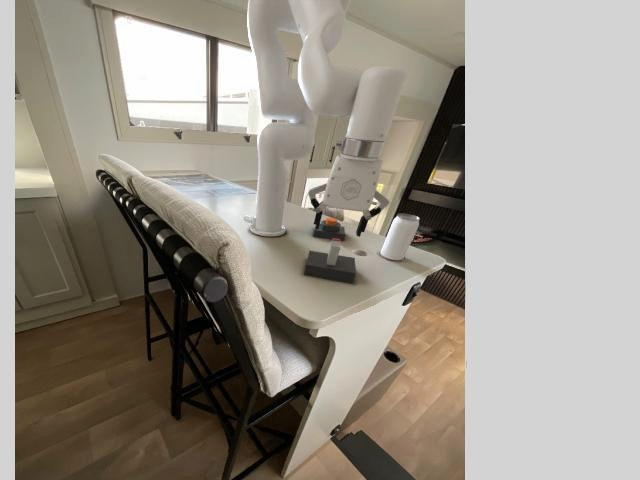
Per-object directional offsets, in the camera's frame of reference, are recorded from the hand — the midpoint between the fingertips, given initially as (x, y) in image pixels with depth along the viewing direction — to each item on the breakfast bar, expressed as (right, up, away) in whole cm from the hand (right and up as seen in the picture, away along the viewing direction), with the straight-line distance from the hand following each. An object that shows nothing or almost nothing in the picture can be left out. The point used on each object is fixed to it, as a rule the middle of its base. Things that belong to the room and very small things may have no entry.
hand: (337, 230), depth 61 cm
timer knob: (0, -7, +4) cm, 8 cm away
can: (+22, -4, +15) cm, 27 cm away
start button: (+8, +9, +26) cm, 28 cm away
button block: (+8, +6, +28) cm, 30 cm away
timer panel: (0, -9, +6) cm, 11 cm away
